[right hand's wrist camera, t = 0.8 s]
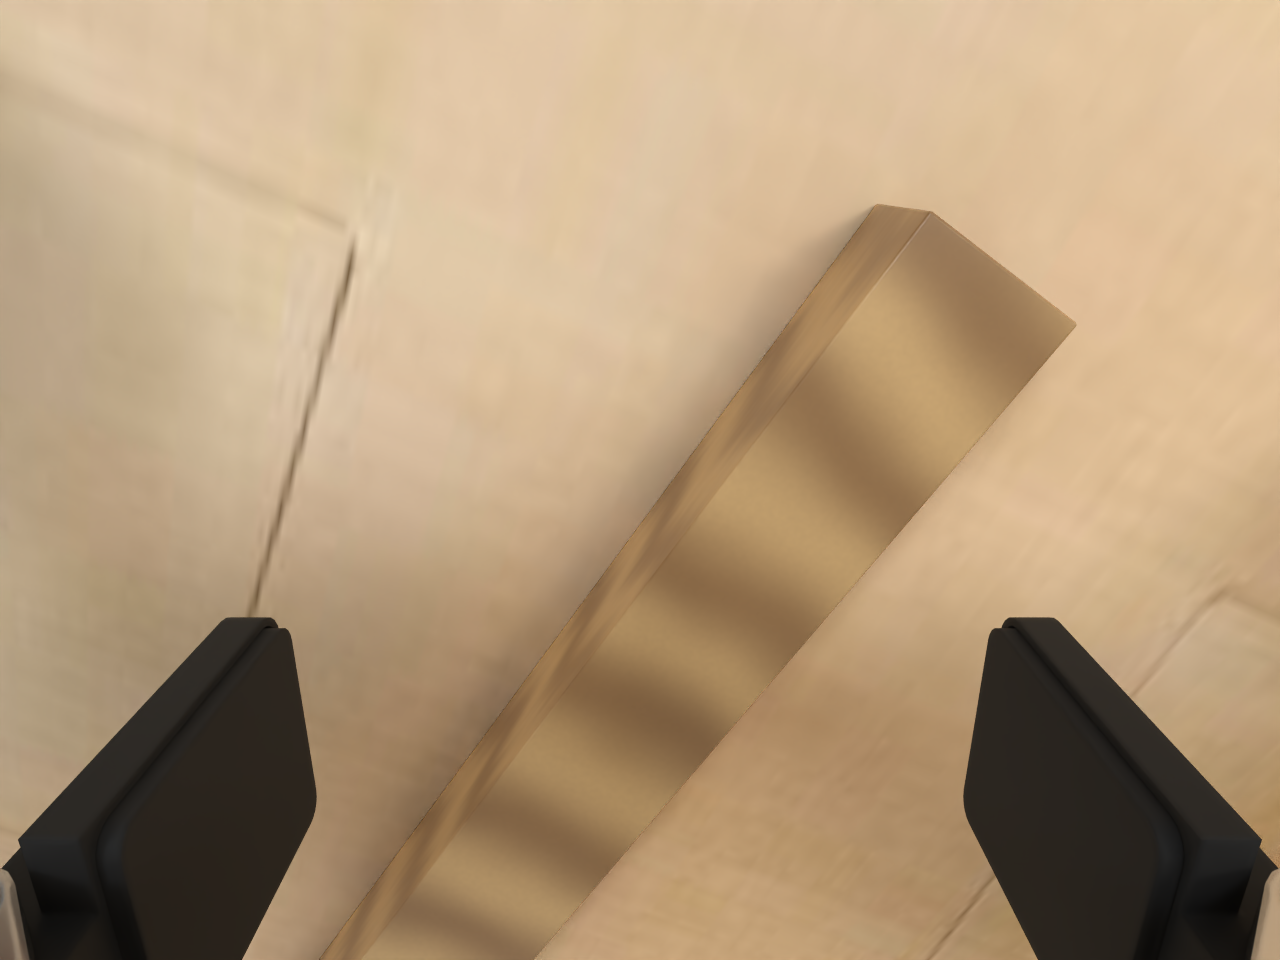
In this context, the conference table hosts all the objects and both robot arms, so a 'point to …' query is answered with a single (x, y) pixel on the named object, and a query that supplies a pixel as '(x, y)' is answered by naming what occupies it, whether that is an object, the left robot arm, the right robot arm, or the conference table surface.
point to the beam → (717, 587)
